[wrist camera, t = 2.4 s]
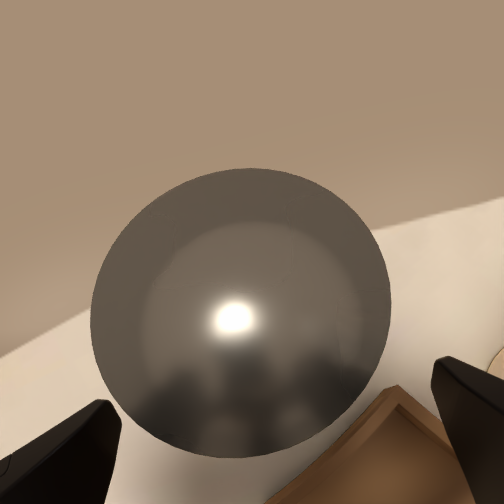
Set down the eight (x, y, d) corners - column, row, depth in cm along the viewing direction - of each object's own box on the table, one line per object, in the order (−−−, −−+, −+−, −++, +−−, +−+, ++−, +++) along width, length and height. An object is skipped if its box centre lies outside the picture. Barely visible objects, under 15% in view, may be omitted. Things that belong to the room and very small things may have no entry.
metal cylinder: (348, 374, 15) (448, 276, 4) (282, 440, 14) (216, 520, 3) (283, 316, 18) (237, 135, 6) (219, 377, 17) (55, 291, 5)
